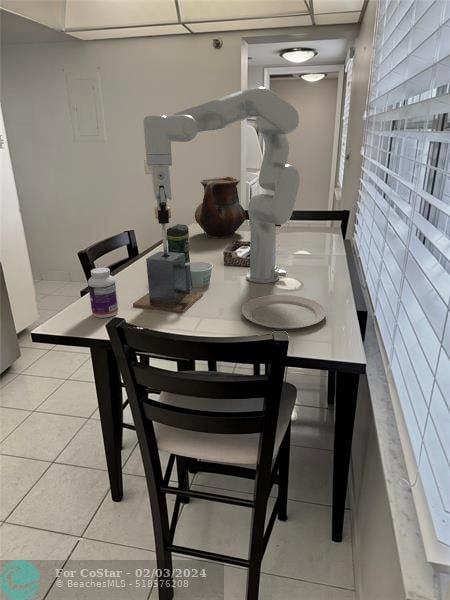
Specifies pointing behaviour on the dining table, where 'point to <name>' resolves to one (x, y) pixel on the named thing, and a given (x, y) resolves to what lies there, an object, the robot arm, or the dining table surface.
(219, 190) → the jug
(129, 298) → the dining table surface
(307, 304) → the plate
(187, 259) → the coffee jar
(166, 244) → the plunger
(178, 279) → the block on wooden base
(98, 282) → the pill bottle
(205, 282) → the food container
